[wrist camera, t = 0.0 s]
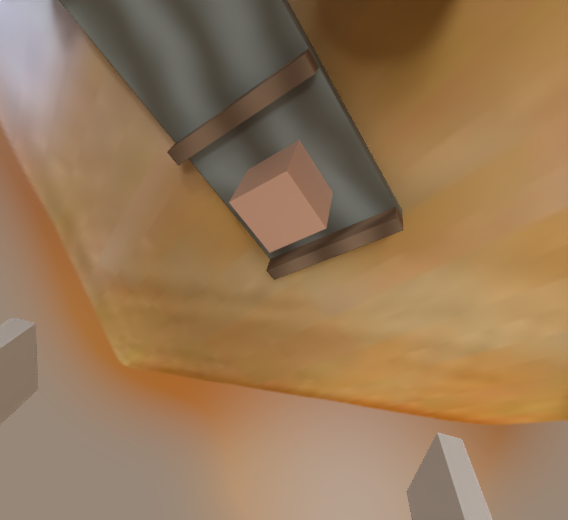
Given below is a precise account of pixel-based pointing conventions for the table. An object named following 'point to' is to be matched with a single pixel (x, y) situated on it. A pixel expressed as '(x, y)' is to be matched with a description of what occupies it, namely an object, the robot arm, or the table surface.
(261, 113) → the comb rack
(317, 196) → the terracotta block
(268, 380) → the table surface
